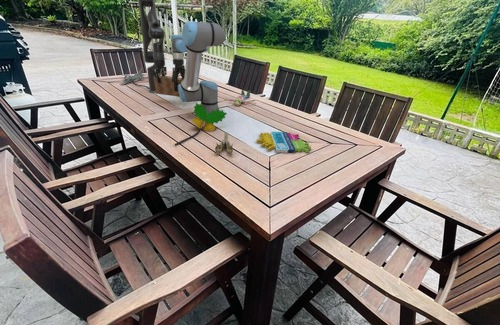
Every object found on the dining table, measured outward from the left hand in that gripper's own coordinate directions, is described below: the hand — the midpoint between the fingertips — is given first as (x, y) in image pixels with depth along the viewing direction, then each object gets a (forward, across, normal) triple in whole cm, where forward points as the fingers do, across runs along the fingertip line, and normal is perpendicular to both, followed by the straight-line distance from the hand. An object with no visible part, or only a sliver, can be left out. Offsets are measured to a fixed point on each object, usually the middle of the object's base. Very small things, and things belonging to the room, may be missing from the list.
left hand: (161, 82), depth 197 cm
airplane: (+16, -50, -62) cm, 81 cm away
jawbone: (+15, +62, +72) cm, 97 cm away
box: (+9, 0, +8) cm, 12 cm away
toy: (+16, -30, +55) cm, 65 cm away
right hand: (+4, 0, +15) cm, 16 cm away
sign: (+15, +40, +100) cm, 109 cm away
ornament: (+15, +36, +53) cm, 66 cm away
